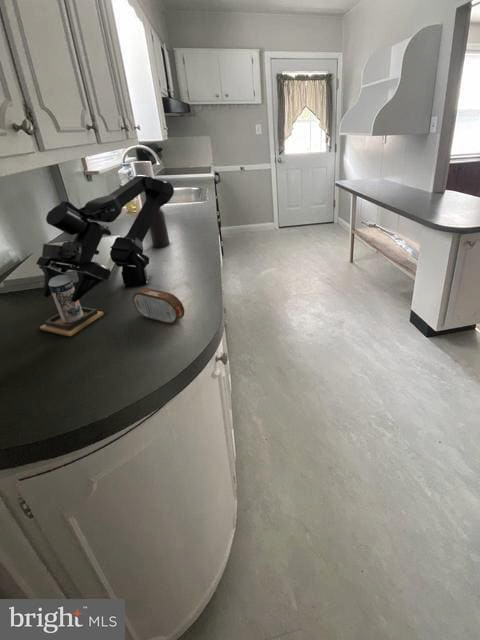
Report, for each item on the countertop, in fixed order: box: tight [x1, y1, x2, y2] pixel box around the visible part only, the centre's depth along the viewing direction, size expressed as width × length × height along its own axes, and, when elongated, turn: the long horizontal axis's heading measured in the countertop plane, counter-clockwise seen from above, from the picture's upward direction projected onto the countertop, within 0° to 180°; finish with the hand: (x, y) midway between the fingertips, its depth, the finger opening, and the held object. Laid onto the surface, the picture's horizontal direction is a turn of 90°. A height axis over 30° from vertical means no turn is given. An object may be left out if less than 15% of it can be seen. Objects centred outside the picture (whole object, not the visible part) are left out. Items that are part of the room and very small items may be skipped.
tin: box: [132, 286, 185, 325], centre depth 79 cm, size 15×3×8 cm, turn 68°
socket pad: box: [39, 306, 105, 337], centre depth 80 cm, size 10×10×2 cm
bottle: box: [149, 207, 170, 248], centre depth 128 cm, size 7×7×20 cm
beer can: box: [48, 274, 83, 323], centre depth 77 cm, size 5×5×12 cm
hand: (59, 299), depth 76 cm, fingers open, 9 cm apart
